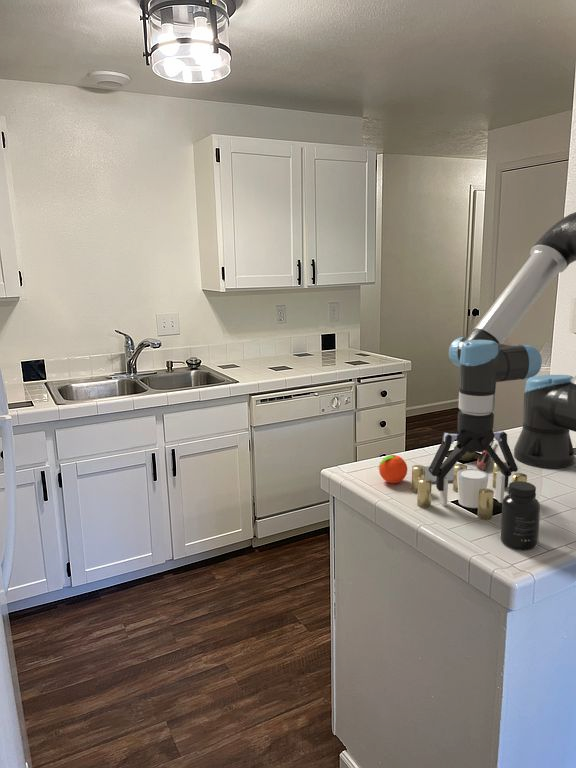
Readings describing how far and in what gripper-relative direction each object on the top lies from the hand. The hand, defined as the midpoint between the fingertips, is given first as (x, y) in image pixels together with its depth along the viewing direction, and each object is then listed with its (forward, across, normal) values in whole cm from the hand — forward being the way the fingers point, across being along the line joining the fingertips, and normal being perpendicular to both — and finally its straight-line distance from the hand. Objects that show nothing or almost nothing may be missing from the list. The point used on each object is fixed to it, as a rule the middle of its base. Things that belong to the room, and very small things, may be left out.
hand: (471, 502), depth 131 cm
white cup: (0, 0, 0) cm, 0 cm away
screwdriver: (+1, -16, -28) cm, 33 cm away
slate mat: (0, +1, -17) cm, 17 cm away
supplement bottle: (0, -2, +19) cm, 19 cm away
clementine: (0, +15, -14) cm, 21 cm away
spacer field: (0, 0, 0) cm, 0 cm away
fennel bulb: (0, -9, -27) cm, 28 cm away
